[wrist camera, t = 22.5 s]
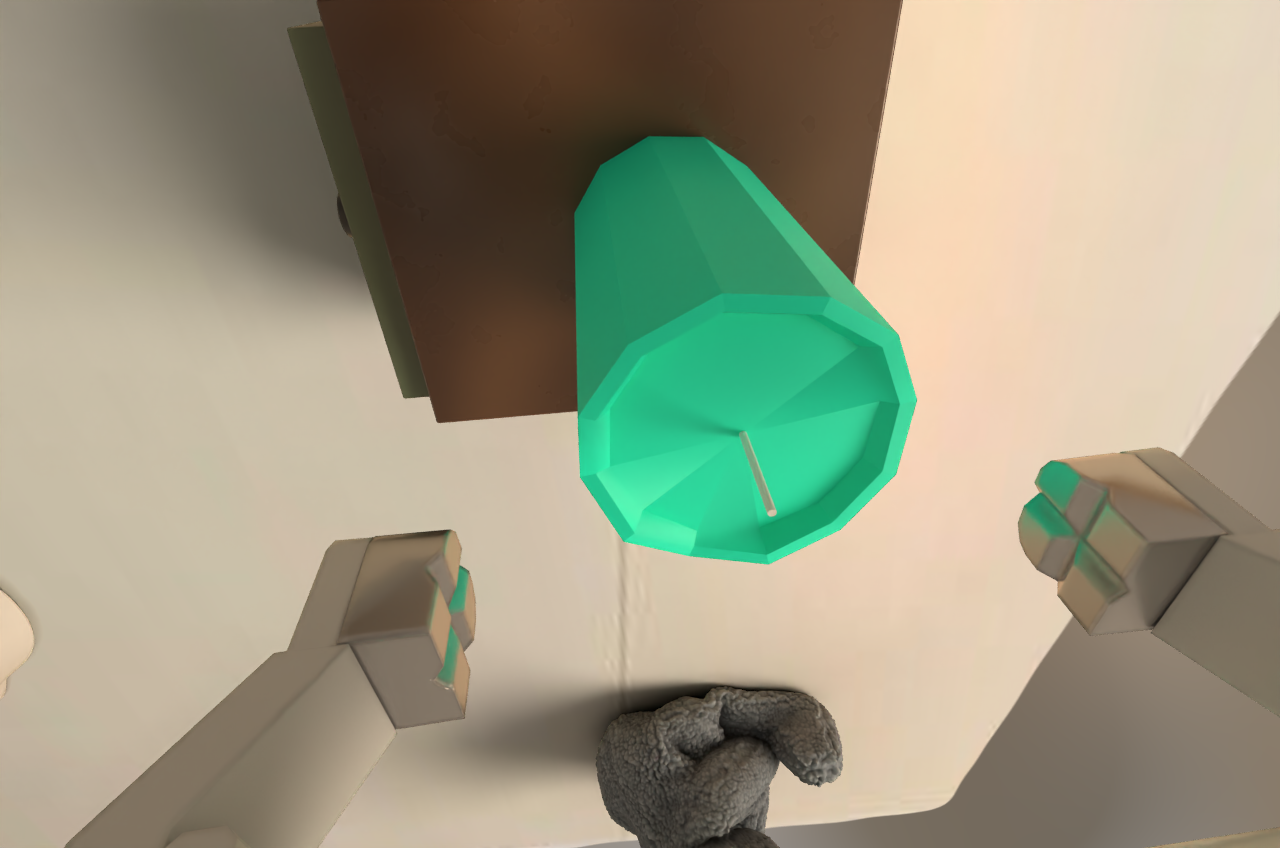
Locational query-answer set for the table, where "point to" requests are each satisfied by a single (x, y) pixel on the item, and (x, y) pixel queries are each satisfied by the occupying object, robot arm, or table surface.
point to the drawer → (356, 200)
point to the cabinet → (583, 150)
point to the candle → (724, 362)
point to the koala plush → (712, 765)
